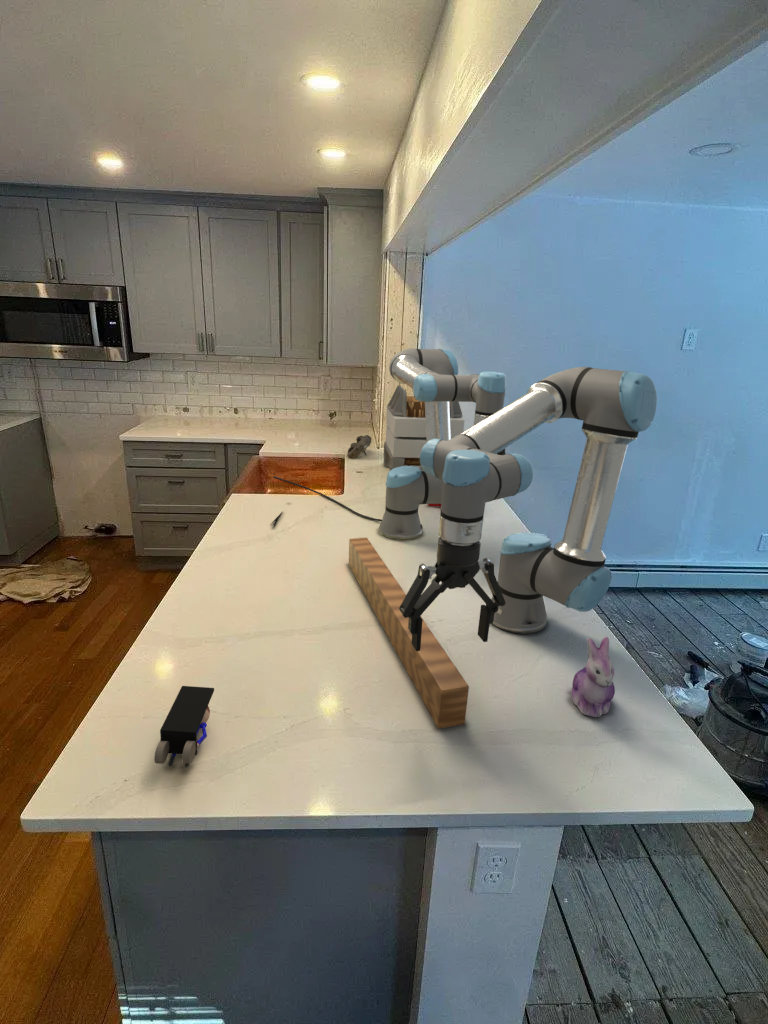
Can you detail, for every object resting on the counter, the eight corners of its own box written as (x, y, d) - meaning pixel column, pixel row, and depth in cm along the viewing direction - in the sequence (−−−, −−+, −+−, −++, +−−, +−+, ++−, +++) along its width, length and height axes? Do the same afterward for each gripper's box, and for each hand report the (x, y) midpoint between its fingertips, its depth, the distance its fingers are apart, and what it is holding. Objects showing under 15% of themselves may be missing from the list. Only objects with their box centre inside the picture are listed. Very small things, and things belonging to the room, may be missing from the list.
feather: (289, 506, 225) (292, 502, 225) (272, 529, 199) (275, 525, 198) (286, 503, 225) (288, 500, 225) (268, 527, 199) (271, 522, 198)
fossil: (347, 441, 314) (368, 426, 309) (358, 454, 317) (379, 439, 312) (341, 455, 294) (363, 439, 289) (352, 469, 297) (375, 453, 292)
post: (348, 564, 174) (349, 538, 171) (366, 563, 176) (366, 537, 173) (438, 729, 108) (441, 690, 105) (464, 724, 109) (469, 686, 106)
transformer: (382, 463, 289) (386, 382, 275) (445, 464, 293) (451, 384, 279) (390, 482, 257) (394, 392, 243) (460, 483, 261) (468, 394, 247)
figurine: (594, 725, 110) (608, 660, 105) (557, 694, 119) (568, 632, 114) (628, 712, 114) (643, 648, 109) (590, 683, 123) (602, 622, 118)
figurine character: (196, 782, 95) (218, 713, 108) (191, 750, 92) (215, 683, 105) (155, 781, 95) (183, 712, 108) (149, 749, 91) (178, 682, 105)
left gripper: (461, 435, 149) (454, 511, 157) (528, 428, 162) (518, 498, 170) (443, 429, 155) (437, 502, 162) (509, 423, 168) (501, 491, 176)
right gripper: (398, 552, 93) (392, 662, 100) (533, 541, 100) (518, 645, 107) (385, 535, 100) (380, 639, 107) (512, 526, 107) (499, 624, 114)
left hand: (479, 500), depth 166 cm, fingers open, 13 cm apart
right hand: (449, 642), depth 107 cm, fingers open, 13 cm apart
